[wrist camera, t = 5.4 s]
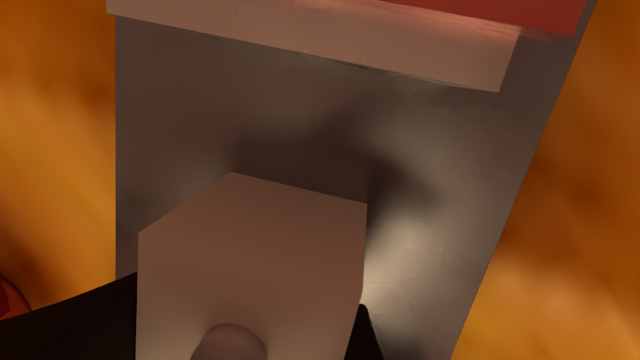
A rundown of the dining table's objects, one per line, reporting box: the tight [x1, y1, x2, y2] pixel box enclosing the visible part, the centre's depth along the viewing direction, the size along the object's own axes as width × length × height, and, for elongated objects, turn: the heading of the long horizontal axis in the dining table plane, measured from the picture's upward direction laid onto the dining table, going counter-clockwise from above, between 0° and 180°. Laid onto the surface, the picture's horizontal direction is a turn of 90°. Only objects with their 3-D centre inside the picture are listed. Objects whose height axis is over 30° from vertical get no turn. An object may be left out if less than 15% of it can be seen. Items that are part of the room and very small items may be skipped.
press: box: [116, 0, 597, 360], centre depth 10 cm, size 14×18×6 cm
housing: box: [136, 172, 367, 360], centre depth 10 cm, size 5×5×6 cm
